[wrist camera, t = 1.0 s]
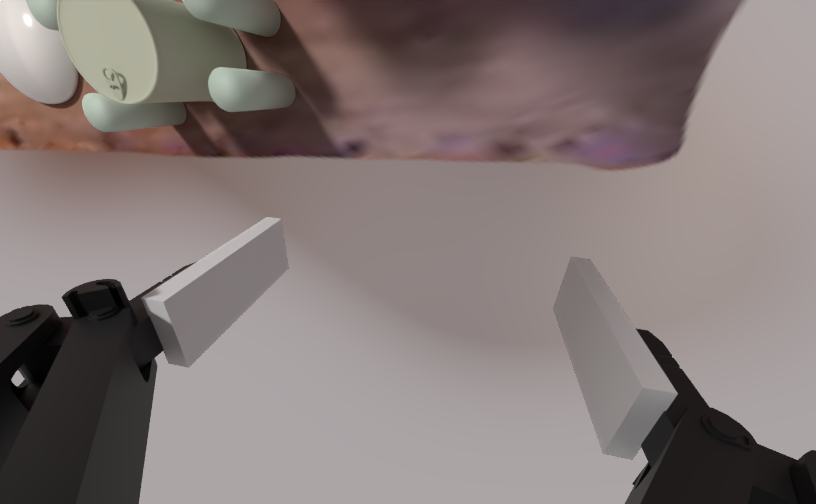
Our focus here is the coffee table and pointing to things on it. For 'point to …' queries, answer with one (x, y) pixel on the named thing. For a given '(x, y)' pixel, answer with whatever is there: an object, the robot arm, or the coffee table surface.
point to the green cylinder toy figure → (146, 49)
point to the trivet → (34, 56)
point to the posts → (229, 87)
